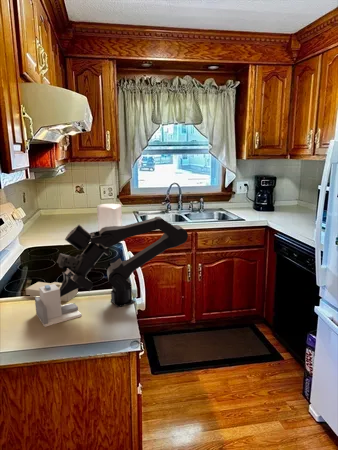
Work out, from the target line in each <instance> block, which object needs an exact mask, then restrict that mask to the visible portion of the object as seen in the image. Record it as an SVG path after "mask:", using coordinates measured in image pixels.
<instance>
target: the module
mask: <svg viewBox="0 0 338 450" xmlns="http://www.w3.org/2000/svg"><path fill="white" fill-rule="evenodd" d="M39 290H40V297H39V298H40V299H41V301H42V302H43V304H44V305H45V306H46V308H47V317H48V319H51V318H54V317H58V316H62V312H61V306H62V301H61V299H60V289H59V288H58V287H57V286H56V285H55V284H52V285H45V286H43V287H39Z"/></svg>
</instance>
